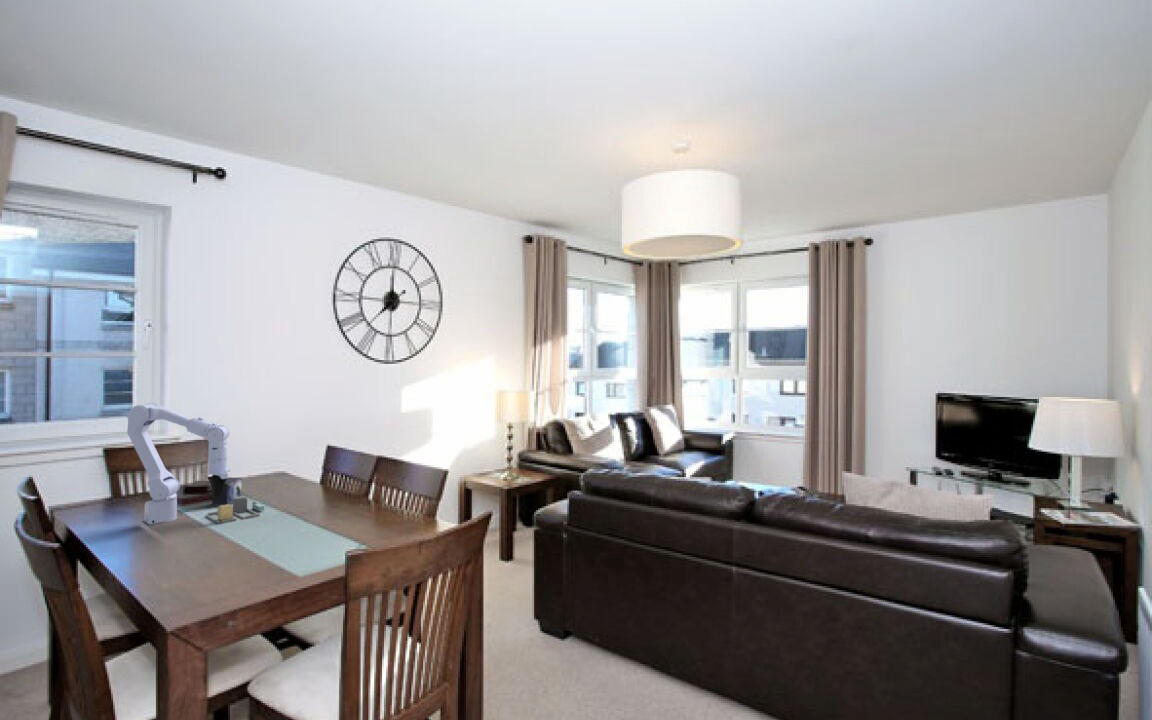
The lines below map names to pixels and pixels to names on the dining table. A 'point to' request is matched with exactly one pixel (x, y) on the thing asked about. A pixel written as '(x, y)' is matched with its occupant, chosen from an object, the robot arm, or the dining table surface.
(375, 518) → the dining table surface
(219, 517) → the slider brass
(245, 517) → the control board
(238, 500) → the slider graphite
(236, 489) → the small box
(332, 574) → the dining table surface
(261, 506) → the paddle
